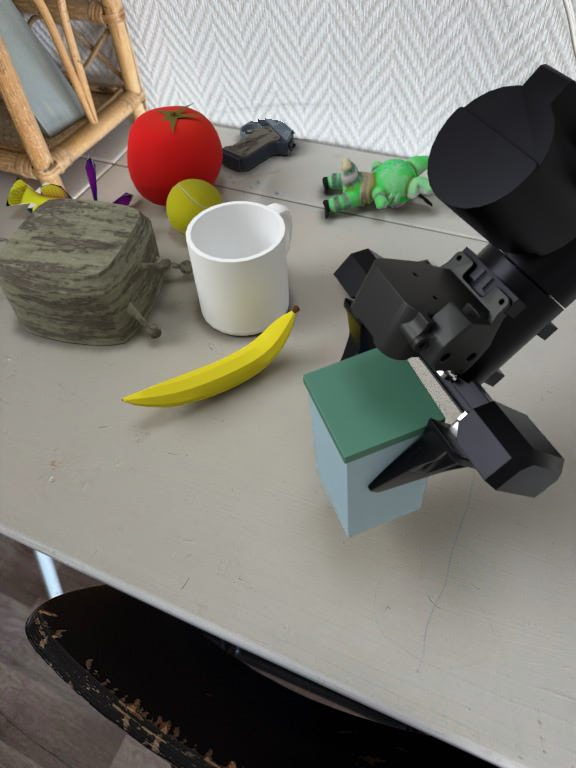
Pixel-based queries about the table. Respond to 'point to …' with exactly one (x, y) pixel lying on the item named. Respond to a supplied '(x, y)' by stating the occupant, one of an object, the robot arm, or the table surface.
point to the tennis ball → (190, 202)
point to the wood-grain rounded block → (84, 272)
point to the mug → (241, 264)
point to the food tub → (367, 434)
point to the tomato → (171, 151)
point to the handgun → (258, 144)
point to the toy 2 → (378, 184)
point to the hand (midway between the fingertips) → (347, 447)
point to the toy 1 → (55, 191)
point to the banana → (219, 370)
